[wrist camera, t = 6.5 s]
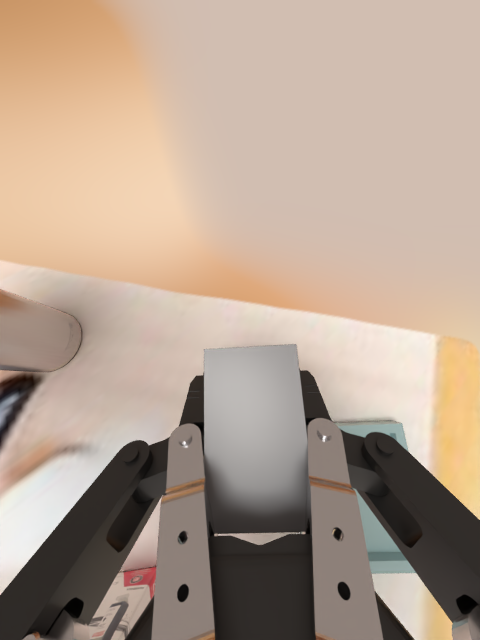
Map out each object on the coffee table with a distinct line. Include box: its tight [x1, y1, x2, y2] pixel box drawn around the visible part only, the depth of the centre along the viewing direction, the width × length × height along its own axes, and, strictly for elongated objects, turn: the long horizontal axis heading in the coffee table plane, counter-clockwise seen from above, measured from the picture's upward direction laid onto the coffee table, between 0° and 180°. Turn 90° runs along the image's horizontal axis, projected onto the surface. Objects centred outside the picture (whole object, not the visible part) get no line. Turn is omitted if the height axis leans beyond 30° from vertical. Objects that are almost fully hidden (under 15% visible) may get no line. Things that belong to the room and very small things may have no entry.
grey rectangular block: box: [204, 344, 308, 534], centre depth 13 cm, size 4×6×10 cm, turn 3°
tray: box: [300, 421, 416, 573], centre depth 26 cm, size 13×14×2 cm
